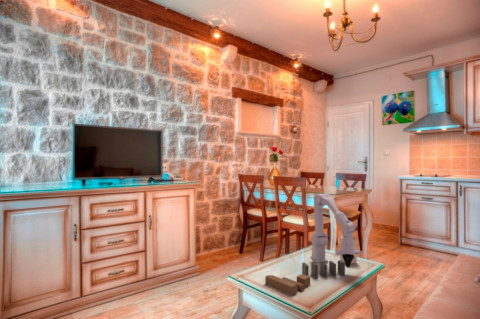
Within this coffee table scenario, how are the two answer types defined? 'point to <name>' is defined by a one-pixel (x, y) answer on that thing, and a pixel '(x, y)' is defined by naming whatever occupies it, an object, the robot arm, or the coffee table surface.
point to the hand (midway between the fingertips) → (347, 267)
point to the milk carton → (353, 249)
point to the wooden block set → (288, 283)
